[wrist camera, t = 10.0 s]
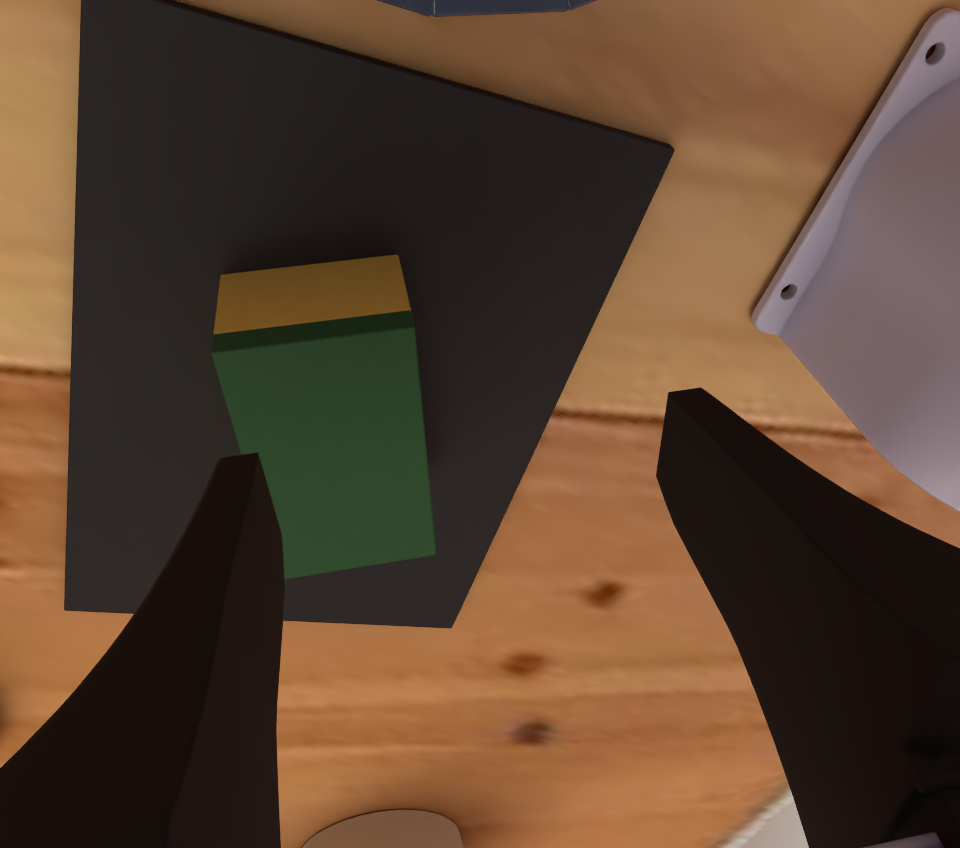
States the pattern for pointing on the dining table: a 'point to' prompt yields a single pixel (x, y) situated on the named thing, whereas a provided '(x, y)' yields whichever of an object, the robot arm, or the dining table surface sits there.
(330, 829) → the reusable coffee cup
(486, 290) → the drying mat
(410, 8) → the bowl
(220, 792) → the robot arm
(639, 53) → the dining table surface
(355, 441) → the sponge
